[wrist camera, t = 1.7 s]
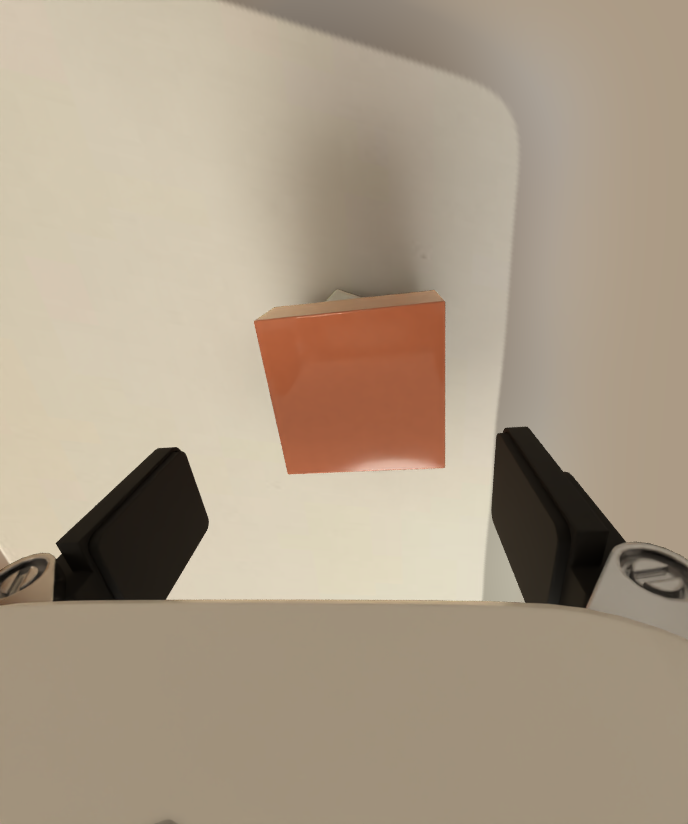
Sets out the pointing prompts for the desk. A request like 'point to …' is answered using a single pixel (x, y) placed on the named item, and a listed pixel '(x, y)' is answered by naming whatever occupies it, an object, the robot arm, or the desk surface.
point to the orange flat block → (358, 382)
